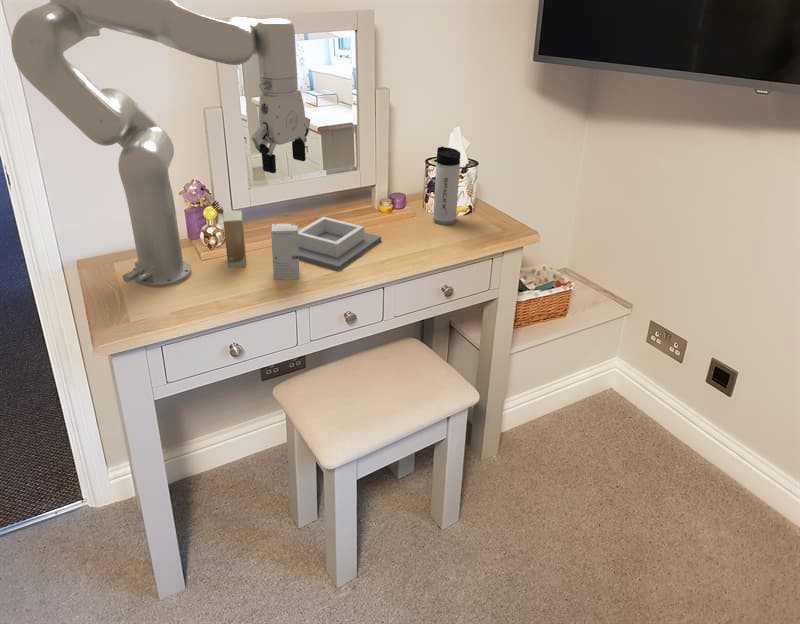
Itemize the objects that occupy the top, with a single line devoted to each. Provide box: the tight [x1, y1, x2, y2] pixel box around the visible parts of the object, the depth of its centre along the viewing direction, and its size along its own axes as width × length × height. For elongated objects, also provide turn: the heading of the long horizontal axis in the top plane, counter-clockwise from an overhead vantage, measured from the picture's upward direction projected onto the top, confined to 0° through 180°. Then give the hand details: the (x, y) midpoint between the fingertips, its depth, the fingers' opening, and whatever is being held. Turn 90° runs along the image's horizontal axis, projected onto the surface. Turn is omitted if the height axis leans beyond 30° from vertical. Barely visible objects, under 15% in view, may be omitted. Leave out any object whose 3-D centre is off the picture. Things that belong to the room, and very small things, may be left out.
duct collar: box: [298, 216, 382, 271], centre depth 173 cm, size 20×18×5 cm
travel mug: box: [432, 146, 461, 226], centre depth 186 cm, size 6×7×20 cm
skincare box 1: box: [222, 210, 248, 269], centre depth 162 cm, size 6×4×12 cm
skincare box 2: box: [270, 223, 300, 280], centre depth 158 cm, size 6×4×12 cm
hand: (284, 165), depth 150 cm, fingers open, 9 cm apart
